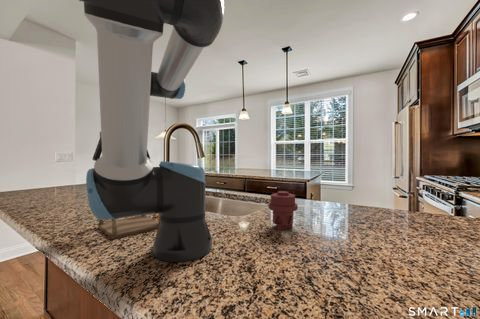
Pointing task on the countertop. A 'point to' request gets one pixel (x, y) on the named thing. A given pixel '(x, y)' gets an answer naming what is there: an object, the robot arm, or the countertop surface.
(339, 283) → the countertop surface
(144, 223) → the pot stand
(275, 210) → the mechanical component
